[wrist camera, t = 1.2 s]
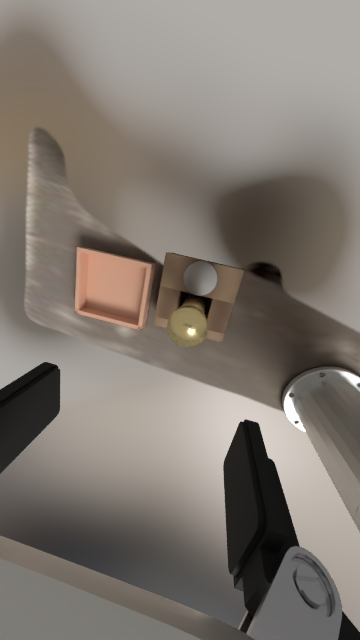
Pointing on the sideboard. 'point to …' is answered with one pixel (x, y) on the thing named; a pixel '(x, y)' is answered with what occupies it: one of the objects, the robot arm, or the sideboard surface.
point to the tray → (113, 287)
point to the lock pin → (188, 322)
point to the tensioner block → (198, 290)
